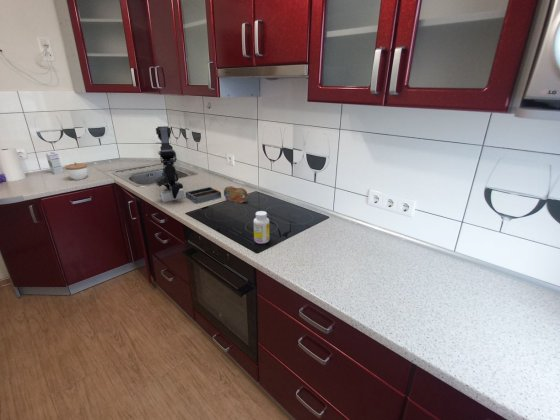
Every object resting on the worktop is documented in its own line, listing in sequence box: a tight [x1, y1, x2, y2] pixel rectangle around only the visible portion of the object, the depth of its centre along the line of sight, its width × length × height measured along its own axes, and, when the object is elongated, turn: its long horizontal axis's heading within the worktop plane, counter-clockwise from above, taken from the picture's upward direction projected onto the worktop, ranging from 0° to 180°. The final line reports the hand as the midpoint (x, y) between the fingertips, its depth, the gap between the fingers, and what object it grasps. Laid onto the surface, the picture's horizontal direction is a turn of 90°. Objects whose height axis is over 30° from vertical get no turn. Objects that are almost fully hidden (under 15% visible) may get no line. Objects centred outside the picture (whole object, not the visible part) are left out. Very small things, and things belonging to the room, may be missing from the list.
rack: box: [185, 186, 222, 204], centre depth 175 cm, size 13×16×4 cm
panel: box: [160, 188, 185, 203], centre depth 172 cm, size 4×12×5 cm, turn 129°
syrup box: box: [45, 151, 64, 175], centre depth 215 cm, size 6×6×14 cm
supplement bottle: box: [253, 210, 270, 244], centre depth 126 cm, size 7×7×13 cm
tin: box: [223, 185, 249, 204], centre depth 170 cm, size 15×3×8 cm, turn 62°
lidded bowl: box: [64, 162, 89, 181], centre depth 205 cm, size 13×13×11 cm
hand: (172, 197), depth 173 cm, fingers open, 5 cm apart
